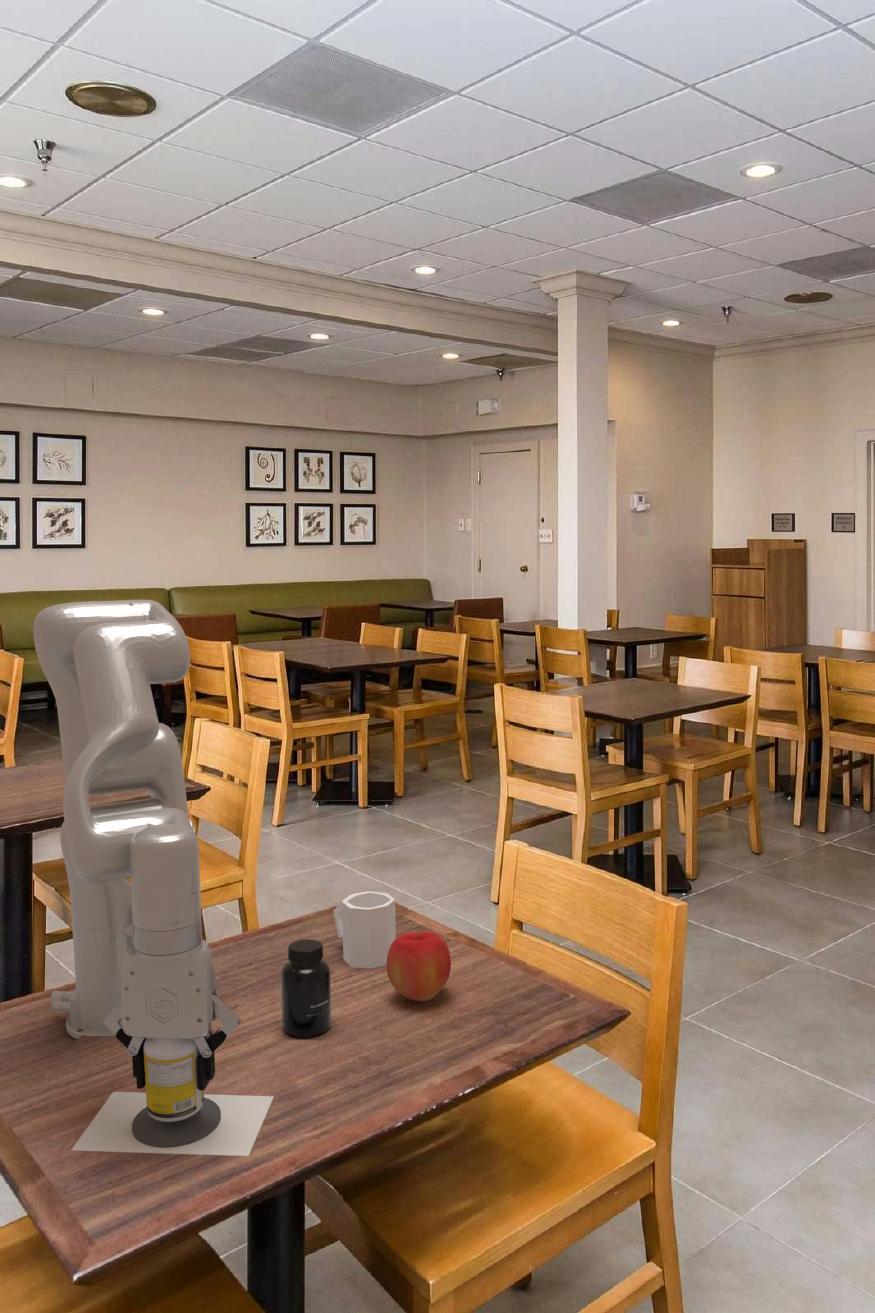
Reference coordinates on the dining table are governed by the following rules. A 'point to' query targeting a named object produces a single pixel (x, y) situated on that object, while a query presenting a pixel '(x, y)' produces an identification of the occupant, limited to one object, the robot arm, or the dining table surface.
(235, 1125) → the board
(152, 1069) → the pill bottle
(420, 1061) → the dining table surface
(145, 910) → the robot arm
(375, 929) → the mug
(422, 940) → the apple
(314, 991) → the supplement bottle
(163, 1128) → the pad
